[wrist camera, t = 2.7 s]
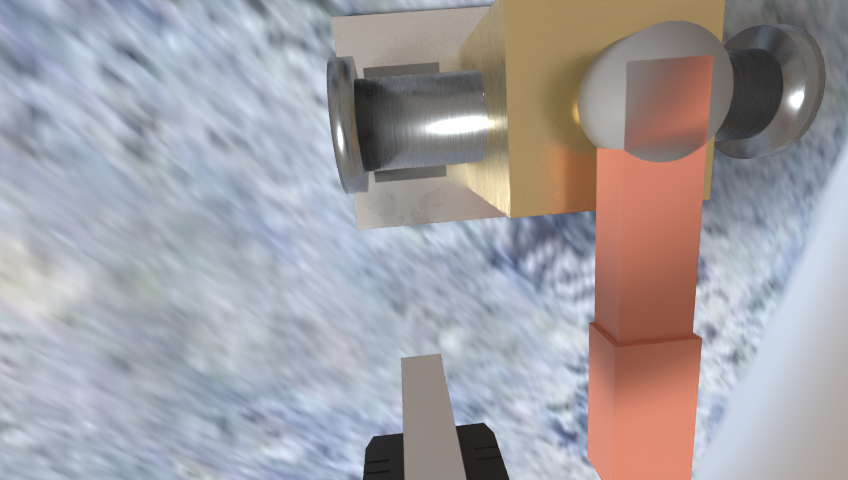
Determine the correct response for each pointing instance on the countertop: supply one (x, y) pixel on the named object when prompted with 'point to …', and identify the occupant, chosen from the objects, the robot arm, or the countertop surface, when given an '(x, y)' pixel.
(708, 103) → the lever
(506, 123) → the valve
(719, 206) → the countertop surface
